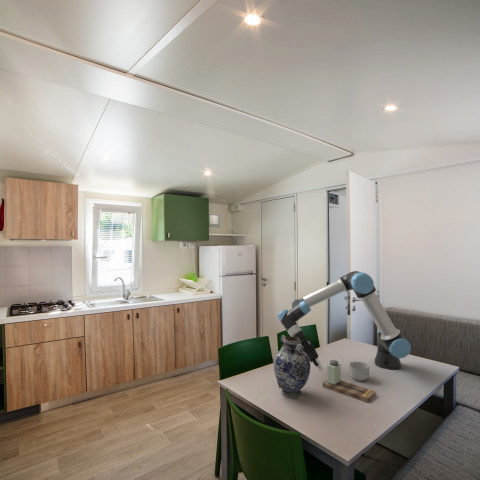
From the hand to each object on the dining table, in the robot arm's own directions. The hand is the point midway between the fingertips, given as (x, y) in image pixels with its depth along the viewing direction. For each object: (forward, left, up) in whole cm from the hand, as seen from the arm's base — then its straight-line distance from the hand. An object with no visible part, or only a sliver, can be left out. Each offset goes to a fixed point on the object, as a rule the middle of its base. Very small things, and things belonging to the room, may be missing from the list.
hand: (322, 370), depth 173 cm
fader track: (-7, +13, -7) cm, 16 cm away
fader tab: (-3, +6, -4) cm, 8 cm away
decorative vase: (+22, +6, -7) cm, 24 cm away
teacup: (-23, +1, -7) cm, 24 cm away
